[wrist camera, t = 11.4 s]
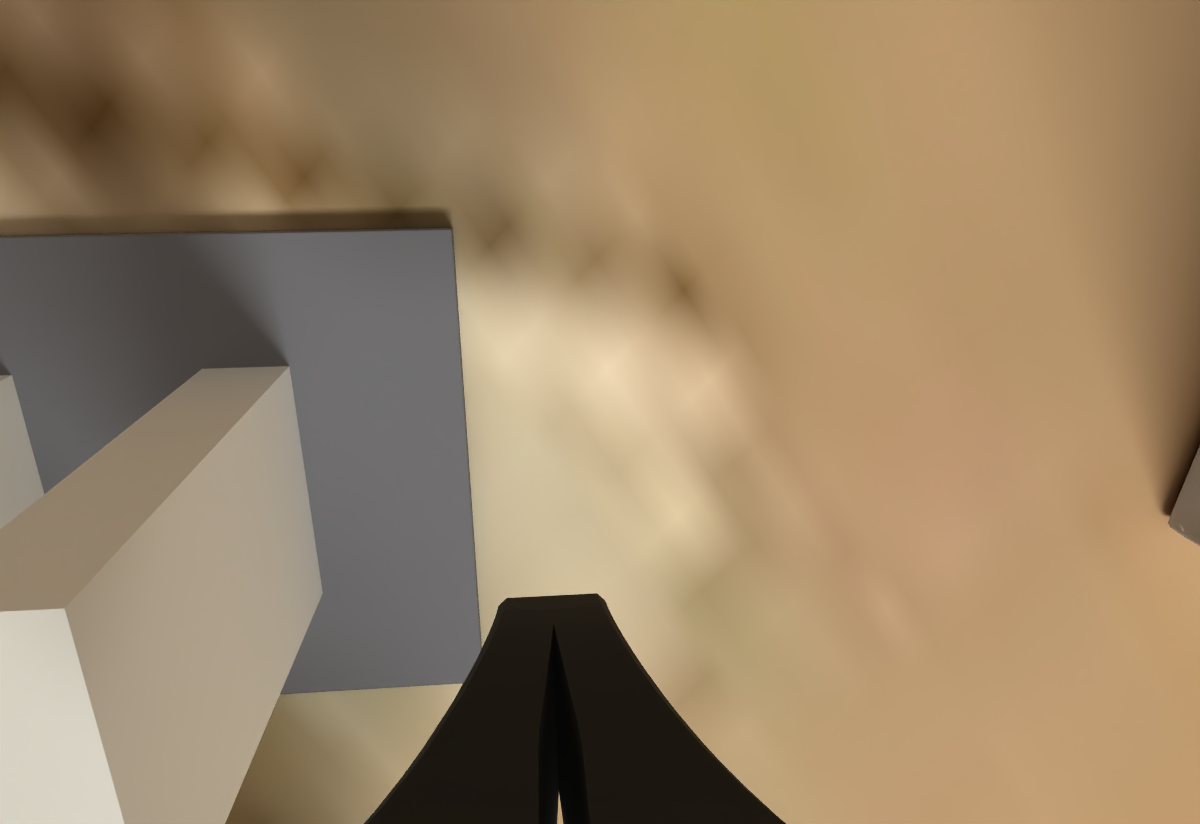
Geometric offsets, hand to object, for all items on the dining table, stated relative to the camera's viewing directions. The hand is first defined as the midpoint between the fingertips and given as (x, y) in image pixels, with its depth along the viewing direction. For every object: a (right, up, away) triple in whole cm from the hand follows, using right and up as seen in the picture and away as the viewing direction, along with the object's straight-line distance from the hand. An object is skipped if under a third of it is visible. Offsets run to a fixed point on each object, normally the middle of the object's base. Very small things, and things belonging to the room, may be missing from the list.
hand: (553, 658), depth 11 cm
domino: (-6, +2, +5) cm, 8 cm away
